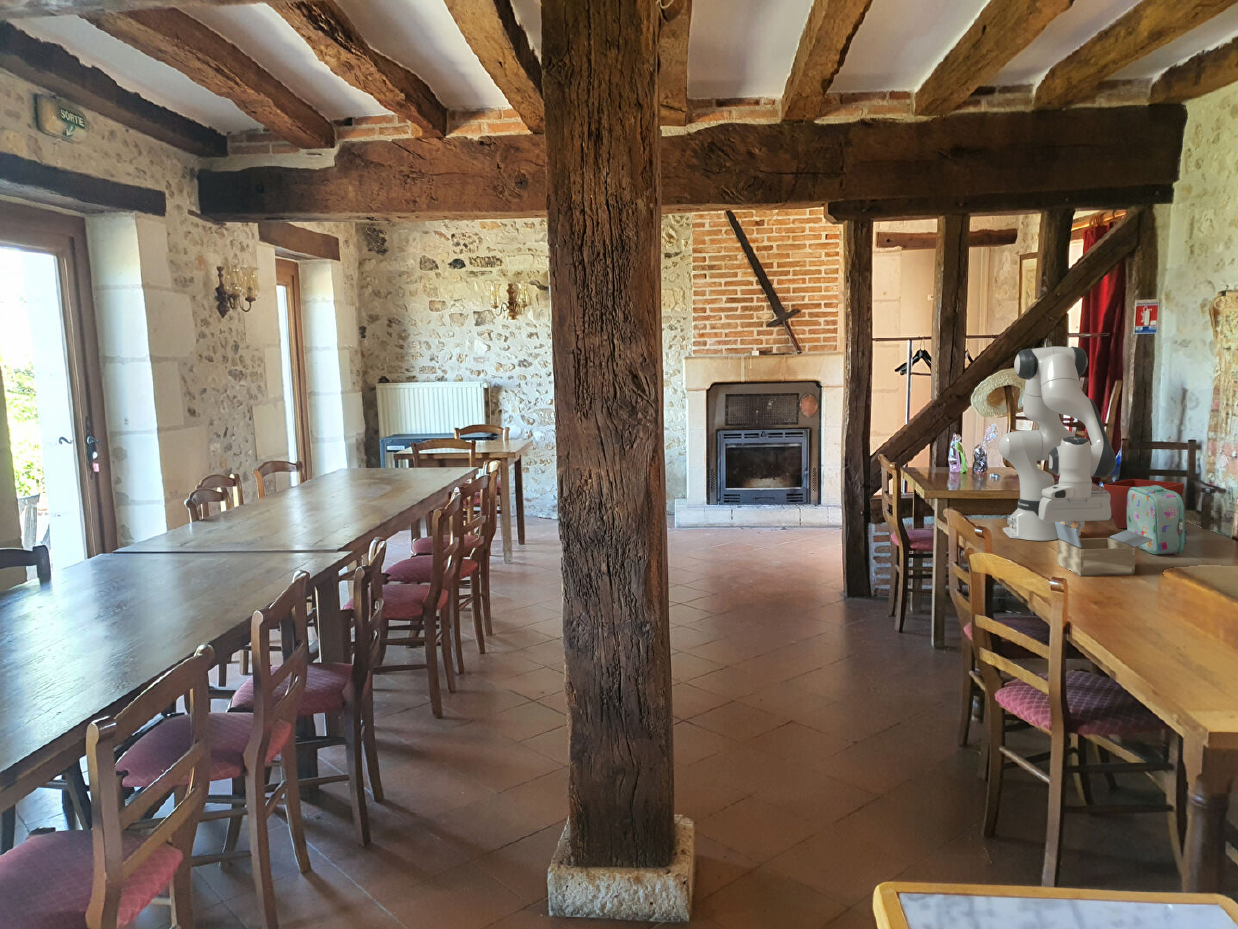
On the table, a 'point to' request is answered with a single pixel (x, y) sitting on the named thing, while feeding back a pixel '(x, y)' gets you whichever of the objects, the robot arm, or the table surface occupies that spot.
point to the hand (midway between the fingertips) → (1074, 535)
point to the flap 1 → (1068, 534)
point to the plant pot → (1121, 492)
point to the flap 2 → (1131, 538)
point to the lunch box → (1157, 518)
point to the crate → (1097, 557)
